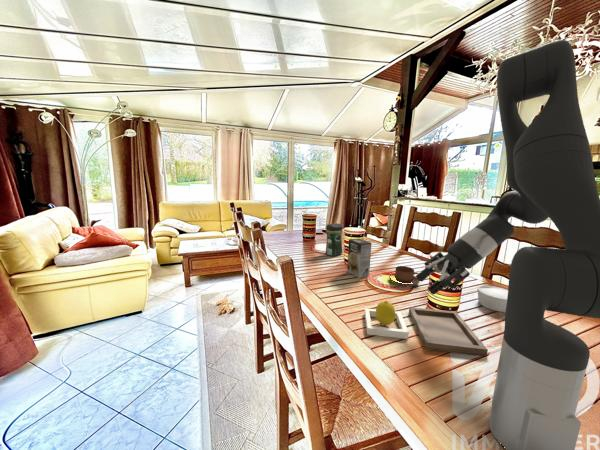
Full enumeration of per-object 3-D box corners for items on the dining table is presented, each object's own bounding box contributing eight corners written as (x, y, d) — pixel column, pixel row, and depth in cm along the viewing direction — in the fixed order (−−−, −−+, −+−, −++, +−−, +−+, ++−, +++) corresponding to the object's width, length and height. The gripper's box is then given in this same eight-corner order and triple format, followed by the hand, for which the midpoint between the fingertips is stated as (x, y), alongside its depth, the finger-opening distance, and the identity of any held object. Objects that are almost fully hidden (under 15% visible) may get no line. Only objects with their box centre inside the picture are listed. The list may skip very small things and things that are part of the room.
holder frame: (408, 339, 67) (408, 332, 66) (367, 334, 69) (367, 328, 68) (399, 317, 77) (400, 311, 77) (364, 314, 79) (364, 308, 79)
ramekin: (489, 296, 92) (491, 283, 91) (524, 311, 81) (526, 296, 80) (467, 300, 88) (469, 287, 87) (501, 316, 78) (503, 301, 77)
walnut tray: (486, 356, 60) (487, 349, 60) (426, 349, 63) (426, 342, 62) (455, 317, 77) (456, 311, 77) (408, 312, 80) (409, 307, 80)
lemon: (395, 332, 70) (397, 306, 68) (375, 329, 71) (377, 304, 69) (392, 321, 75) (394, 297, 74) (374, 319, 76) (375, 295, 75)
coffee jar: (335, 251, 150) (335, 221, 147) (344, 254, 144) (345, 223, 140) (323, 254, 145) (323, 223, 141) (332, 257, 138) (333, 225, 135)
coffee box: (346, 271, 116) (347, 239, 114) (357, 269, 119) (358, 237, 116) (358, 278, 108) (360, 243, 105) (370, 276, 111) (371, 242, 108)
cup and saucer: (413, 277, 110) (414, 264, 108) (423, 289, 98) (425, 274, 97) (386, 276, 111) (386, 263, 110) (393, 287, 99) (394, 273, 98)
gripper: (449, 232, 73) (406, 267, 76) (478, 245, 59) (424, 286, 62) (465, 250, 73) (422, 283, 77) (498, 266, 59) (444, 306, 63)
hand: (423, 285), depth 69 cm, fingers open, 8 cm apart
